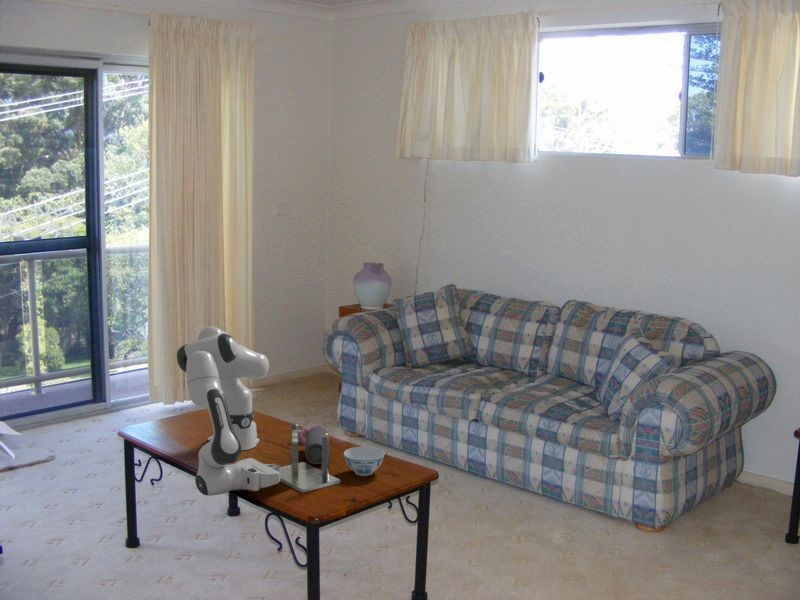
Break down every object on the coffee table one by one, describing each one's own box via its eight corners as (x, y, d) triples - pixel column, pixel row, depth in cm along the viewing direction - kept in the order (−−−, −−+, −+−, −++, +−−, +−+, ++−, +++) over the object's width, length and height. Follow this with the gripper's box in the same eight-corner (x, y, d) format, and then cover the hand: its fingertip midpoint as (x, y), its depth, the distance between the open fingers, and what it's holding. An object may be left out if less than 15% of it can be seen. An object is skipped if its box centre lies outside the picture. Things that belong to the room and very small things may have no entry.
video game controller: (314, 441, 362) (308, 425, 363) (321, 439, 359) (315, 423, 360) (297, 447, 354) (291, 431, 355) (304, 444, 351) (298, 428, 352)
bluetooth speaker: (305, 448, 348) (305, 424, 346) (329, 448, 349) (329, 424, 347) (303, 467, 325) (303, 442, 324) (328, 467, 326) (328, 441, 325)
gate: (292, 465, 321) (292, 430, 319) (297, 465, 322) (297, 430, 320) (292, 480, 306) (292, 443, 304) (298, 480, 306) (298, 443, 304)
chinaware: (337, 477, 316) (337, 456, 315) (353, 464, 330) (353, 444, 329) (375, 482, 311) (375, 461, 310) (390, 469, 325) (390, 449, 324)
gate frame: (266, 473, 318) (266, 424, 315) (303, 464, 328) (303, 416, 326) (302, 492, 300) (302, 440, 297) (340, 482, 310) (340, 432, 307)
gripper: (228, 475, 305) (262, 467, 313) (257, 492, 289) (292, 483, 298) (227, 458, 304) (262, 450, 313) (257, 474, 288) (292, 465, 297)
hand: (277, 466), depth 305 cm, fingers closed
